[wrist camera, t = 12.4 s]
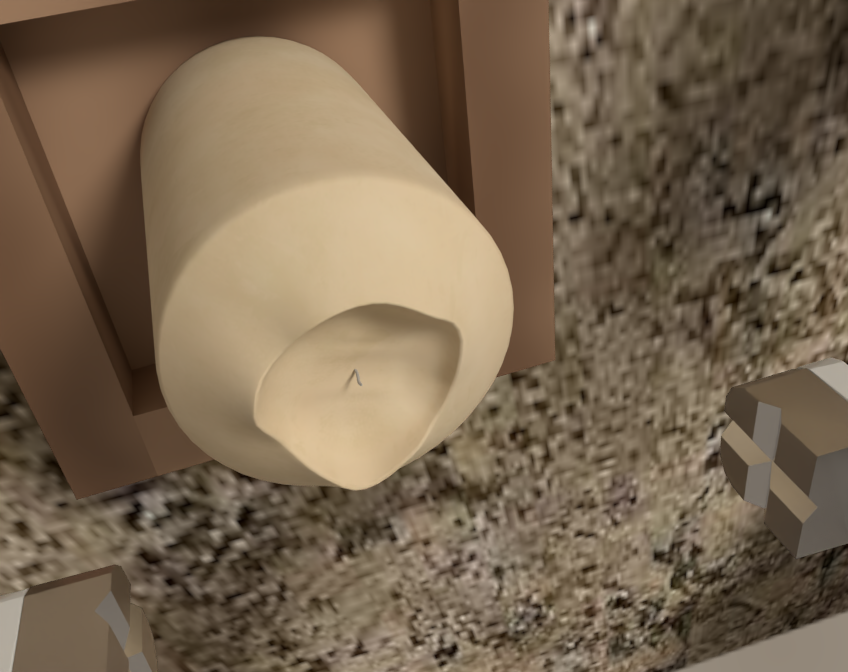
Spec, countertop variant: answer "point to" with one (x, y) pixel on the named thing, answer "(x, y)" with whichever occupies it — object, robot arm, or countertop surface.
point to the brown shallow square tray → (123, 201)
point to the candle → (309, 272)
